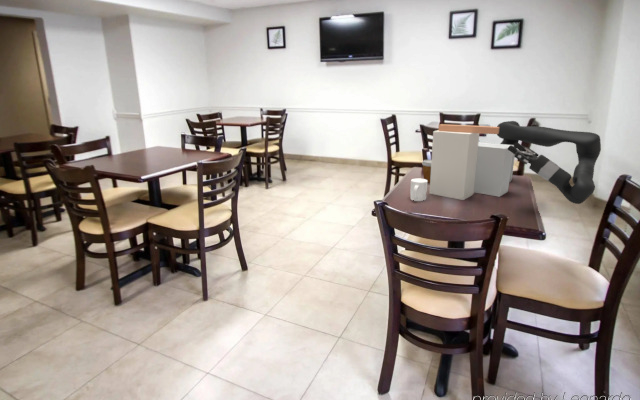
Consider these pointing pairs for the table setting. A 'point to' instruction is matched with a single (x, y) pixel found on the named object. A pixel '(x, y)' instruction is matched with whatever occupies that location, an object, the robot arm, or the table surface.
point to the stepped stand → (468, 166)
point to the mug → (418, 189)
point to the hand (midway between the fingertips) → (512, 145)
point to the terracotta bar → (469, 129)
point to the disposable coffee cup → (427, 170)
